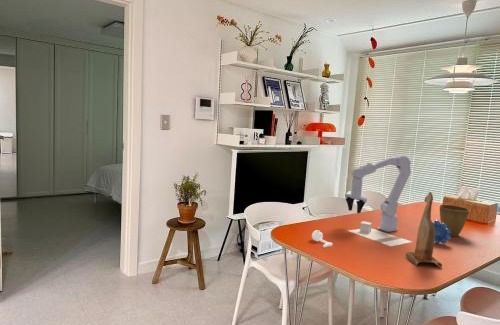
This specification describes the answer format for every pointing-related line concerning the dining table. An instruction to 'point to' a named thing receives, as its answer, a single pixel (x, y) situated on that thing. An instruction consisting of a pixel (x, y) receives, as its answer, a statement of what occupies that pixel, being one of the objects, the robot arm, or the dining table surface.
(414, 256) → the bird sculpture
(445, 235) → the grapes
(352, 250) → the dining table surface
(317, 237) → the figurine
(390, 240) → the subfloor board
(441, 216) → the plant pot
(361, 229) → the cream white cube
